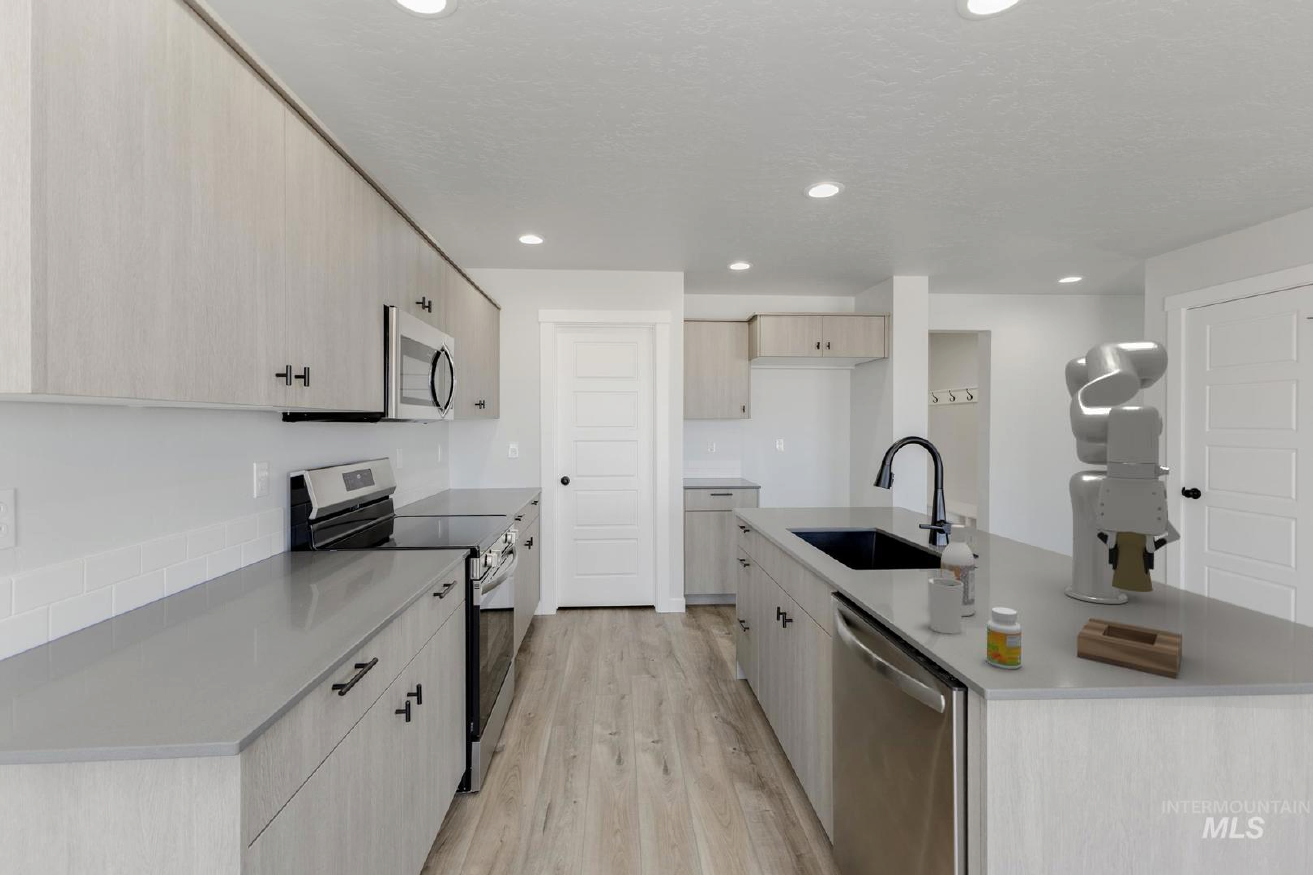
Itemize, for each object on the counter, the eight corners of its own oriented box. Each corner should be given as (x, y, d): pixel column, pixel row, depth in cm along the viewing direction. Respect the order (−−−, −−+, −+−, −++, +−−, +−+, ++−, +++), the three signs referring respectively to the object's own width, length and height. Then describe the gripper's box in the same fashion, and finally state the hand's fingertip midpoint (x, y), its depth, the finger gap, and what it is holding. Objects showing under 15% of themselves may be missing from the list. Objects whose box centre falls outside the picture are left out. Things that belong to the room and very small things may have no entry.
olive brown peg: (1160, 592, 108) (1160, 531, 108) (1122, 591, 109) (1122, 530, 109) (1140, 584, 114) (1140, 526, 114) (1104, 582, 115) (1104, 525, 115)
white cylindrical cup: (945, 622, 131) (946, 576, 131) (970, 632, 125) (970, 584, 125) (921, 625, 129) (921, 579, 129) (944, 636, 123) (945, 587, 123)
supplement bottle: (980, 658, 111) (980, 606, 111) (1007, 657, 112) (1008, 605, 112) (999, 670, 106) (999, 615, 106) (1028, 669, 106) (1028, 614, 106)
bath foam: (933, 609, 140) (934, 524, 140) (955, 605, 143) (956, 522, 143) (959, 618, 134) (959, 529, 134) (981, 614, 137) (982, 526, 136)
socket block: (1090, 637, 122) (1090, 617, 122) (1181, 655, 112) (1182, 634, 112) (1077, 656, 112) (1077, 635, 112) (1176, 678, 102) (1176, 655, 102)
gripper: (1193, 473, 108) (1191, 574, 109) (1081, 469, 120) (1080, 560, 120) (1191, 476, 103) (1189, 582, 103) (1074, 471, 114) (1073, 567, 115)
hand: (1130, 569), depth 112 cm, fingers closed on olive brown peg, 3 cm apart
